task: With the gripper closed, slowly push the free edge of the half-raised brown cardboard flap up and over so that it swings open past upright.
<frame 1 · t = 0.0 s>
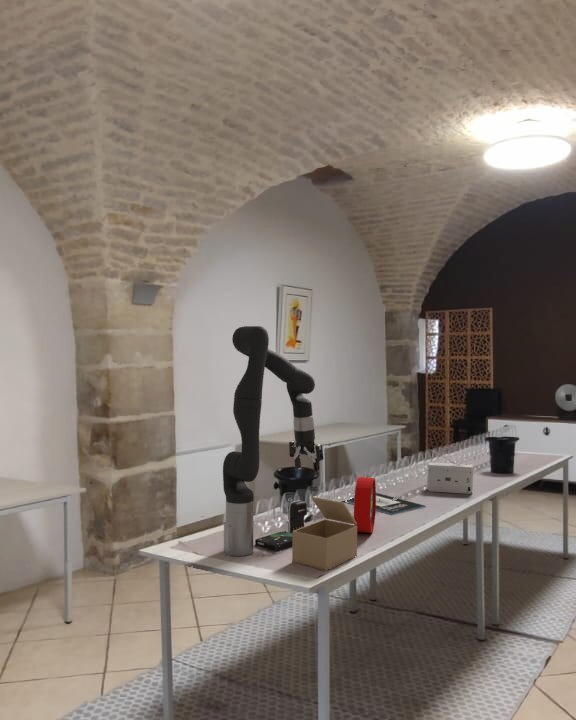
hand: (307, 469, 249), 22 cm above the table, tool pointing down, fingers open, 8 cm apart
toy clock: (364, 532, 248), on the table
stereo radio cassette player: (449, 492, 315), on the table
disk drive: (280, 545, 231), on the table
carton flap: (334, 510, 219), point 15 cm above the table, hinge at 45.0°
sketchbook: (382, 505, 290), on the table
carton: (325, 559, 216), on the table
battery: (297, 532, 246), on the table
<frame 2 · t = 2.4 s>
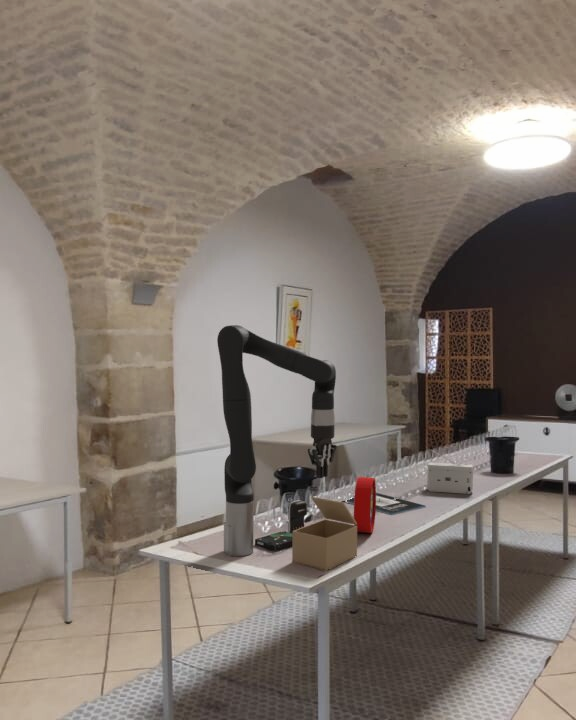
hand: (322, 477, 213), 27 cm above the table, tool pointing down, fingers closed
nothing on the table moved.
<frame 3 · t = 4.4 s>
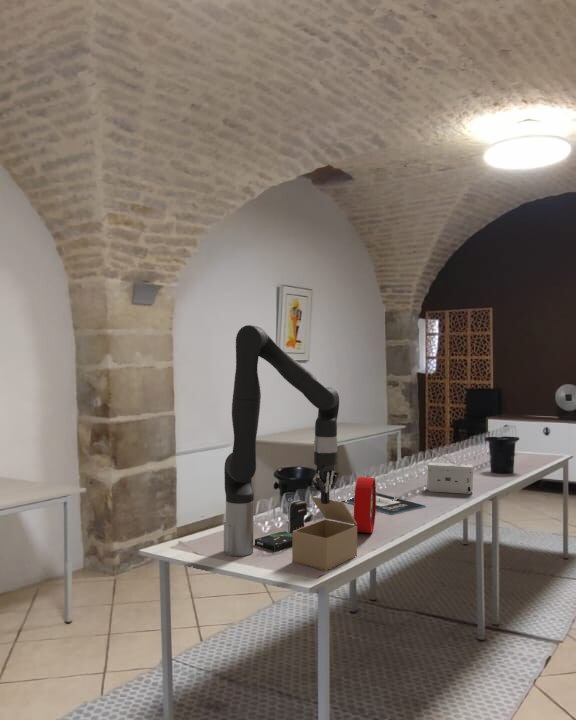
hand: (324, 503, 215), 18 cm above the table, tool pointing down, fingers closed
carton flap: (334, 510, 219), point 15 cm above the table, hinge at 45.1°, touching gripper
everything else where it was.
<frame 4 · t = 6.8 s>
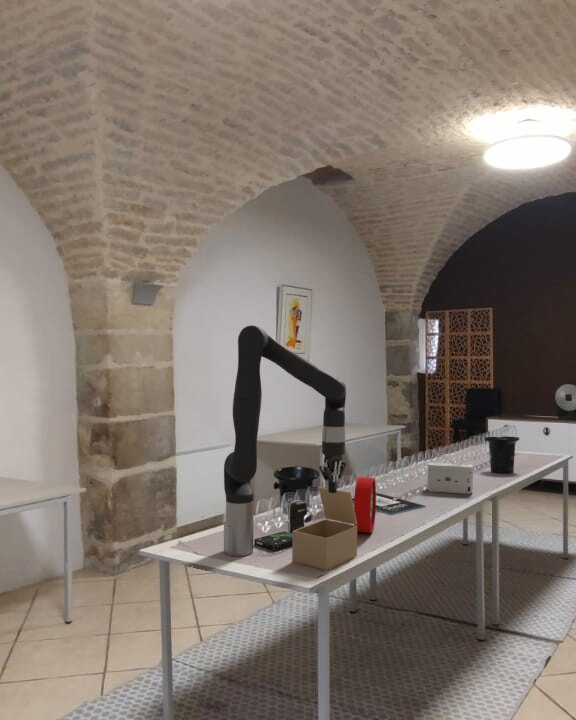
hand: (332, 492, 218), 21 cm above the table, tool pointing down, fingers closed
carton flap: (337, 505, 221), point 16 cm above the table, hinge at 69.0°, touching gripper
everything else where it was.
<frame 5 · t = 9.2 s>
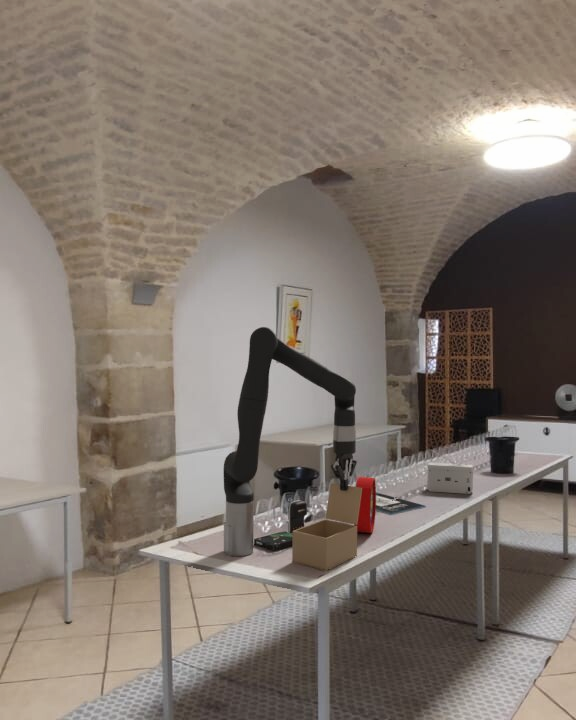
hand: (343, 490, 223), 21 cm above the table, tool pointing down, fingers closed
carton flap: (343, 503, 224), point 16 cm above the table, hinge at 104.0°, touching gripper
everything else where it was.
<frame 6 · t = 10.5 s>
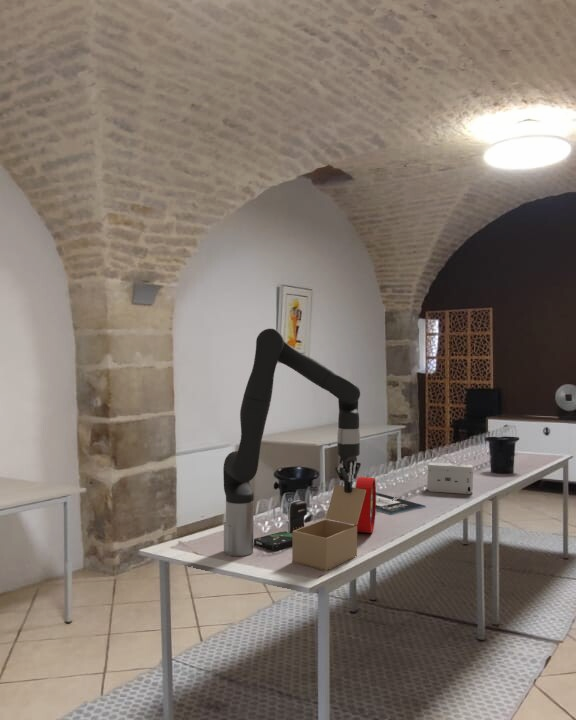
hand: (348, 492, 226), 19 cm above the table, tool pointing down, fingers closed
carton flap: (345, 504, 225), point 15 cm above the table, hinge at 118.0°, touching gripper
everything else where it was.
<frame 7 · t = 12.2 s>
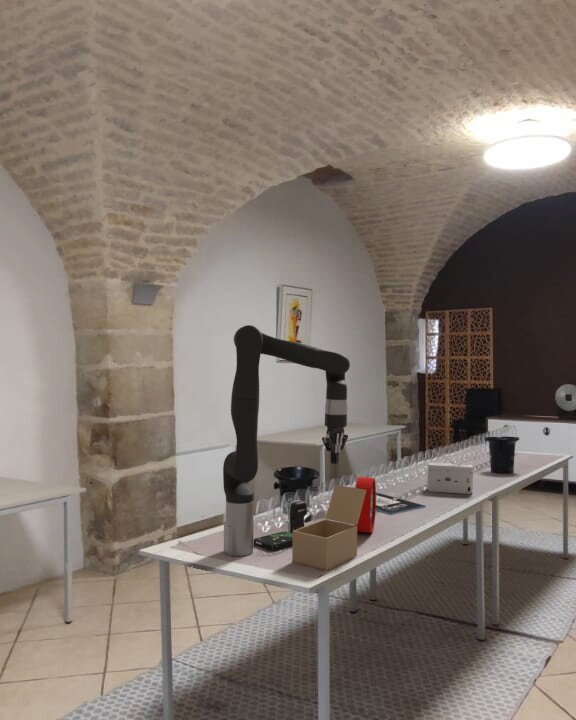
hand: (334, 463, 226), 29 cm above the table, tool pointing down, fingers closed
carton flap: (345, 504, 225), point 15 cm above the table, hinge at 118.1°
everything else where it was.
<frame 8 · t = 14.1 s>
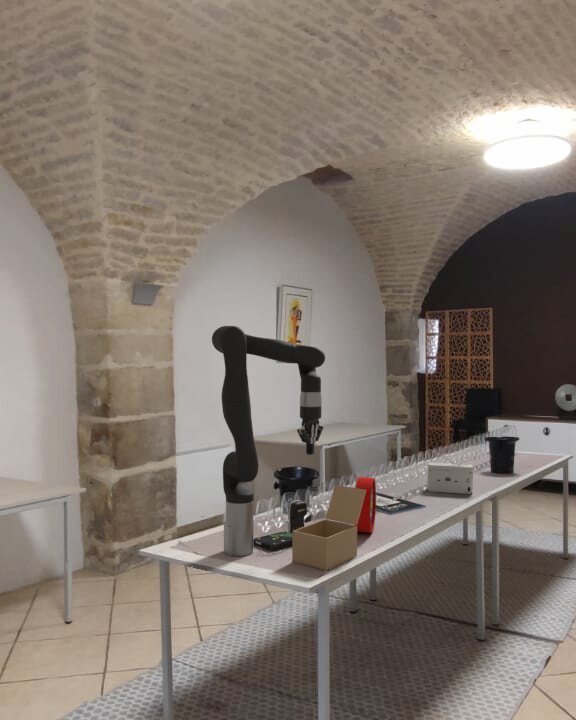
hand: (310, 454, 232), 31 cm above the table, tool pointing down, fingers closed
nothing on the table moved.
at the end: carton flap at +118° (first picture: +45°) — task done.
